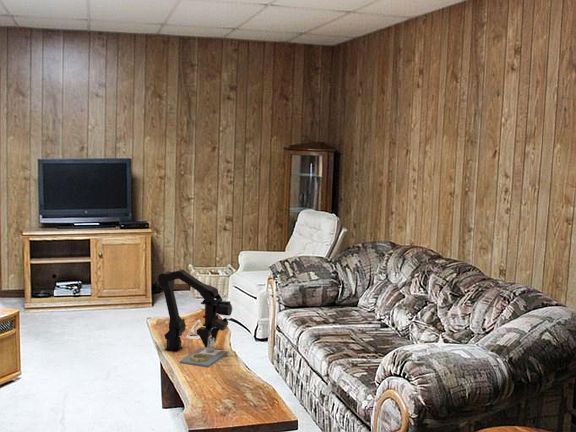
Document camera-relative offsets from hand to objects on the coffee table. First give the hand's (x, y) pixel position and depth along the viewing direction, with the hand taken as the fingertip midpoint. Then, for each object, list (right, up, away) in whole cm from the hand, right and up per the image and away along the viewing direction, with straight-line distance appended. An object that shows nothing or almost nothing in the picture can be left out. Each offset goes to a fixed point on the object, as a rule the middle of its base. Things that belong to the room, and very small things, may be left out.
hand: (210, 344), depth 336 cm
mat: (0, -4, 0) cm, 4 cm away
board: (-2, -6, -6) cm, 8 cm away
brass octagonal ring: (-4, -5, -10) cm, 12 cm away
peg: (0, -4, 0) cm, 4 cm away
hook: (-12, -2, +27) cm, 30 cm away
